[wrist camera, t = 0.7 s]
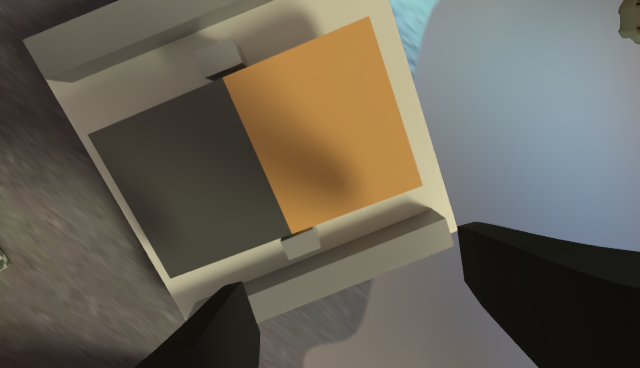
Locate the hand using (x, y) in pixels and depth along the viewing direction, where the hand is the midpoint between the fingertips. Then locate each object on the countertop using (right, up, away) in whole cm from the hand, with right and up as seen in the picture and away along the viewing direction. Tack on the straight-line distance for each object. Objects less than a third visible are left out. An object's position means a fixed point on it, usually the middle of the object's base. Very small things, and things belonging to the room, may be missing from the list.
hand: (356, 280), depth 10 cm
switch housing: (-4, +5, +8) cm, 11 cm away
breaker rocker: (-4, +4, +4) cm, 7 cm away
